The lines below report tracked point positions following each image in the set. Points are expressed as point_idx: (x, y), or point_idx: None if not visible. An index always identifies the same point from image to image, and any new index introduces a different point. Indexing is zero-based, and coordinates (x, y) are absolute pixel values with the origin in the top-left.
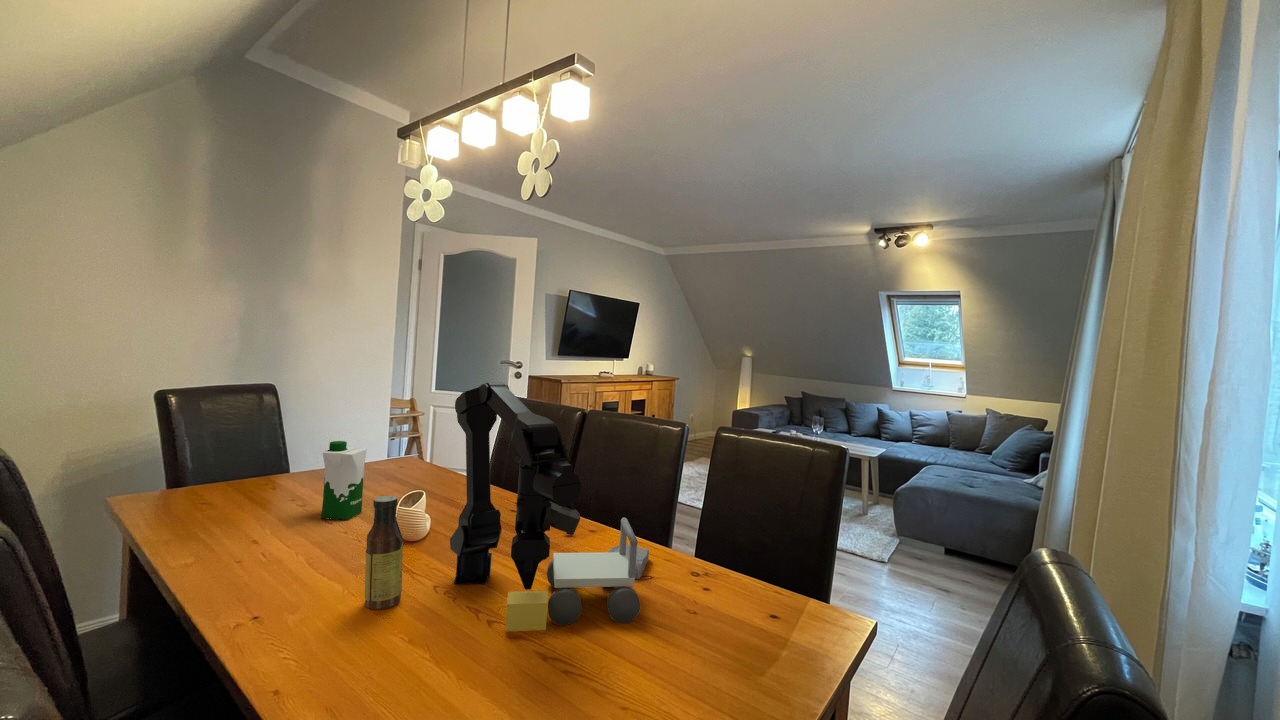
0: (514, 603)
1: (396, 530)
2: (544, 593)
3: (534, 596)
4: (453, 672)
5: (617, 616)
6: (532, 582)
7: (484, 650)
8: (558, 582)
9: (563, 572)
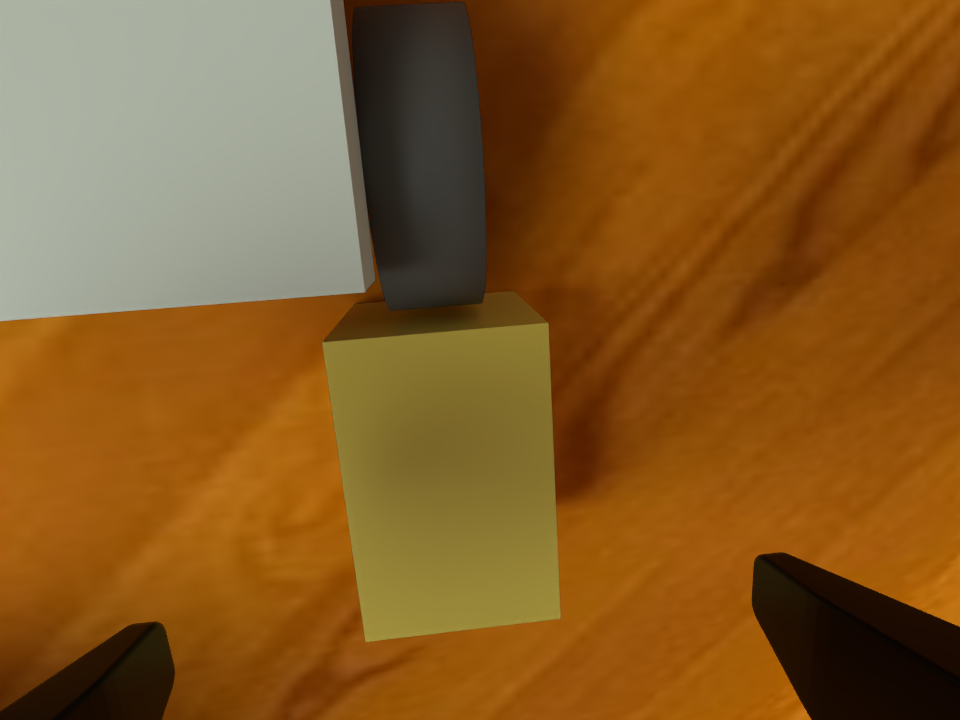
0: (551, 571)
1: None
2: (375, 362)
3: (437, 441)
4: None
5: None
6: (876, 596)
7: (690, 575)
8: (366, 243)
9: (145, 185)
